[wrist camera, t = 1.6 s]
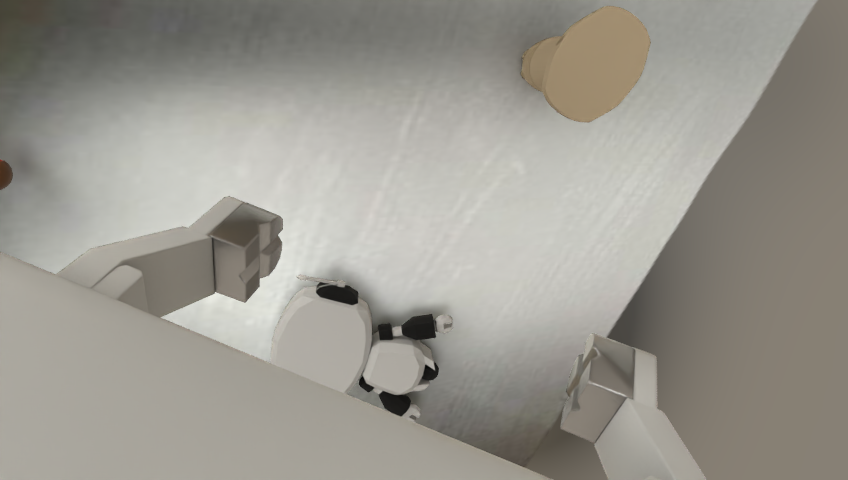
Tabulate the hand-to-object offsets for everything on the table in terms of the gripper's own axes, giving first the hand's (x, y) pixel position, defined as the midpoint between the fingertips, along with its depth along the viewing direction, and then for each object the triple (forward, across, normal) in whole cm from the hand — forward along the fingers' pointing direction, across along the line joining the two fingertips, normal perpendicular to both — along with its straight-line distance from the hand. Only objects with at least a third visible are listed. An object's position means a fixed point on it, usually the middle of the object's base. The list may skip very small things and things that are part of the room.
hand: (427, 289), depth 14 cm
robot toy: (+24, +8, +32) cm, 40 cm away
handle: (+36, +1, +7) cm, 37 cm away
